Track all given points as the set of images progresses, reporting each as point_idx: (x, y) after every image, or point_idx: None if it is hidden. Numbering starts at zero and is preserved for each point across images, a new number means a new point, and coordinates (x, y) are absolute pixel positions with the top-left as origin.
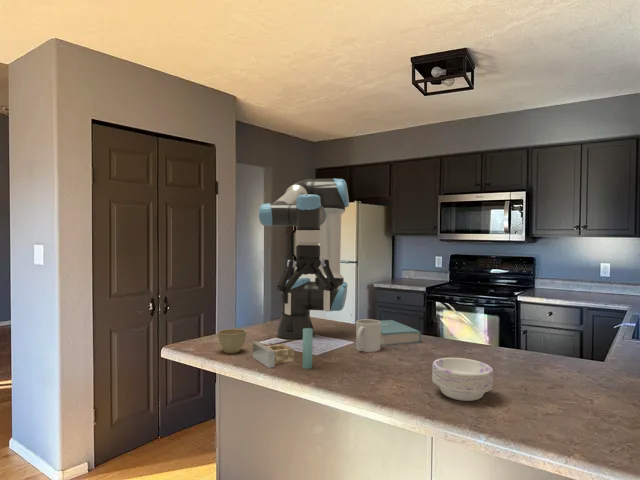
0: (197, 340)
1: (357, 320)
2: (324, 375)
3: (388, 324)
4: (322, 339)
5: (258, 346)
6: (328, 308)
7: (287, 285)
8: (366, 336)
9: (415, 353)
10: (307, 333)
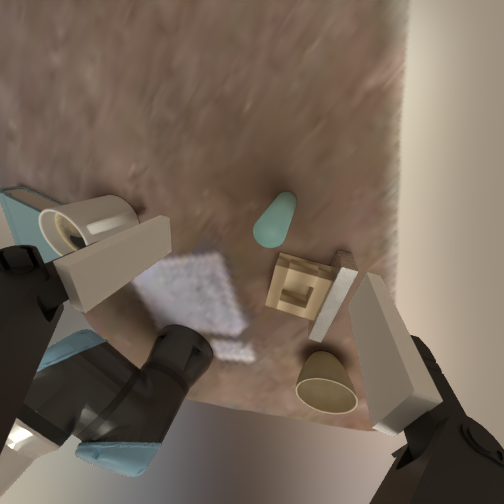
0: (321, 420)
1: None
2: (298, 123)
3: None
4: (162, 306)
5: (332, 318)
6: (156, 221)
7: None
8: (103, 214)
9: (51, 131)
10: (282, 218)
